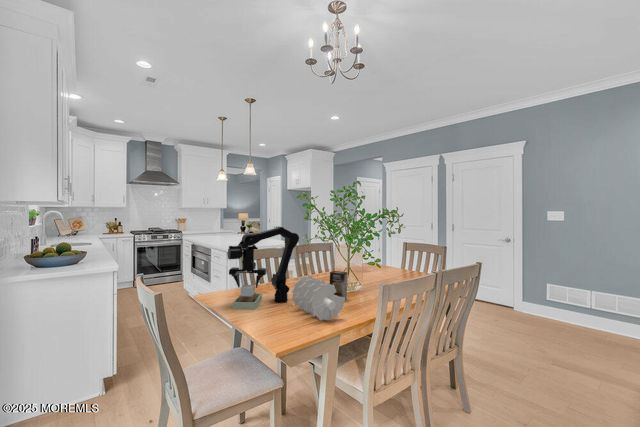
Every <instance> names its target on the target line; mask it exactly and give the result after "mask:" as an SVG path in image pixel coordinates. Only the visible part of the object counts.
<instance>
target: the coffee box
mask: <svg viewBox="0 0 640 427" xmlns="http://www.w3.org/2000/svg"><path fill="white" fill-rule="evenodd" d="M329 283H330V284H331V285H334V286H335V289H336V293H334V295H337V296H338V297H344V298H345V301H346V300H347V299H348V271H342V270H341V271H340V270H331V271H330V272H329Z"/></svg>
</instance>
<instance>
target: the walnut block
mask: <svg viewBox="0 0 640 427" xmlns="http://www.w3.org/2000/svg"><path fill="white" fill-rule="evenodd" d="M256 293H257V292H255V294H254V295H253V296H241V295H240V294H239V295H240V296H239V295H238V296H239V302H255V301H256Z"/></svg>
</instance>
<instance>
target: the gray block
mask: <svg viewBox="0 0 640 427" xmlns="http://www.w3.org/2000/svg"><path fill="white" fill-rule="evenodd" d="M255 293H256V284H243V285H242V286H240V294H241V296H253V295H254V294H255Z"/></svg>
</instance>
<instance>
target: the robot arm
mask: <svg viewBox="0 0 640 427" xmlns="http://www.w3.org/2000/svg"><path fill="white" fill-rule="evenodd" d="M276 236H280V237H283V238H284V250H283V253H282V255H281V259H280V262H279V266H278V269H277V272H276V273H272V278H271V279H270V282H271V285H272V287H273V288H274V290H275V293H274V302H275V303H280V304H281V303H282V304H283V303H287V304H288V301H289V299H288V293H289V292H290V287H289V286H288V285H287V270H288V267H289V263H290V261H291V257H292V254H293V250H294V249H295V247H296V246H297V244H298V242H299V241H300V237H299V234H298V233H296V232H291V231H290V230H288V229H286V228H285V227H283V226H277V227H274V228H270V229H267V230H264V231H261V232H253V233H252V232H251V233H245V234H243V236H242V237H241V240H240V241H239V243H238V244H237V245H228V248H227V252H226V254H227V260H240V259H241V258H242V260H241V263H242V265H241V266H242V268H240V267H231V268H230V269H229V270H228V275H230V276H231V277H233V279H234V281H235V283H236V286H237V287H238V288H241V282H240V277H241V276H240V275H241V274H257V275H256V276H255V289H257V288H258V286H259V283H260V280H261V279H262V278H263V277H264V276H266V274H267V268H266V267H259V268H258V269H256V268H257V267H256V266H257V263H256V262H255V250H258V249H259V248H258V247H257V246H256V245H255V244H258V243H260V241H262V240H266V239H269V238H272V237H276Z"/></svg>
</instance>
